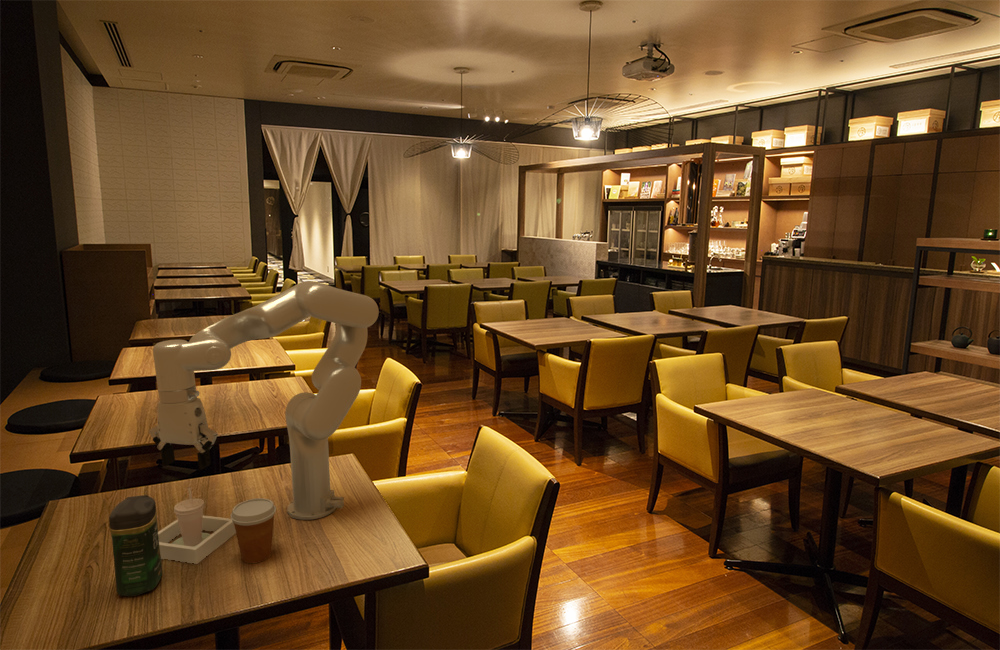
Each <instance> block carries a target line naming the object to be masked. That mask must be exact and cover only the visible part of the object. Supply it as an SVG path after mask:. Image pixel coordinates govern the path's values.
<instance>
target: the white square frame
mask: <svg viewBox="0 0 1000 650" xmlns="http://www.w3.org/2000/svg"><path fill="white" fill-rule="evenodd" d="M203 530H205V532H211V531H213V532H212V533H211V534H210V536H209V537H207V538H206V539H205V540H203V541H202V542H201V543H199V544H198V545H197V546H195V547H192V546H184V545H177V544H172V543H170V542H171V541H172V539H173V540H174V539H176V538H177V537H178V536H180V535H182V534H181V530H180V527H179V523H178V519H175V520H174V521H172V522H171V523H169V524H168V525H166V526H165V527H163V528H161V529H160V530H158V538H159V547H160V555H161V560H164V559H168V560H167V561H171V560H175V561H174V562H178V561H180V563H185V562H187V563H186V564H192V563H194V564H193V565H198V564H199V563H201V562H202V561H203V560H204V559H205V558H207V557H208V556H209V555H211V553H213V552H214V551H215V550H217V549H218V548H219V547H220V546H222V545H224V543H226V542H227V541H228V540H229V539H231V538H232V537H233V536H234V535H236V530H235V526H234V522H233V521H232V519H231V518H229V517H221V516H220V517H219V516H212V515H211V516H210V515H204V514H203V522H202V531H203ZM179 534H180V535H179ZM176 536H177V537H176ZM175 537H176V538H175ZM206 556H207V557H206Z"/></svg>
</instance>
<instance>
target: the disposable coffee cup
mask: <svg viewBox="0 0 1000 650" xmlns="http://www.w3.org/2000/svg"><path fill="white" fill-rule="evenodd" d="M231 511H232V512H231V513H230V519H232V521H233V522H234V526H235V530H236V534H235V535H236V539H237V543H238V548H239V552H240V556H241V560H242V561H243V562H244V563H247V564H255V563H260V562H263V561H265V560H267V559H269V558H270V557H271V555H272V549H273V536H274V533H273V532H274V524H275V523H274V519H275V515H276V511H277V507H276V505H274V501H273V500H271V499H268V498H261V497H260V498H250V499H247V500H244V501H241V502H238V503H237V504H236V505H234V507H233V508H232V510H231Z"/></svg>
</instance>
